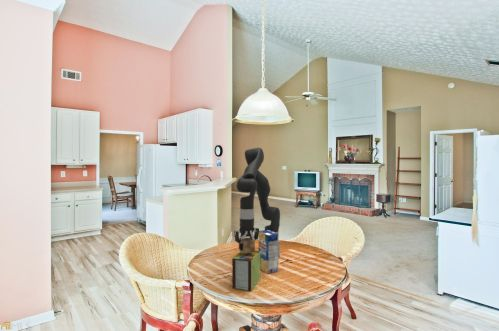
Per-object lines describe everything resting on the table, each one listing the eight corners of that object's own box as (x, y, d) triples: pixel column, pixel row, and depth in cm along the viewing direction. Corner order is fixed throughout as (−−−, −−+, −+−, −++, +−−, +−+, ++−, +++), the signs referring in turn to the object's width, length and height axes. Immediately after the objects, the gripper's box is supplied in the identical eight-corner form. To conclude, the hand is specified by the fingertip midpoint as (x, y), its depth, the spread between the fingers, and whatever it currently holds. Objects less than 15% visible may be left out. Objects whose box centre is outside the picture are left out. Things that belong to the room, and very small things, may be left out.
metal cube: (249, 248, 151) (249, 237, 150) (254, 251, 145) (254, 240, 145) (239, 250, 148) (239, 238, 147) (244, 253, 142) (244, 241, 142)
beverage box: (268, 274, 159) (268, 235, 158) (258, 267, 169) (258, 230, 168) (278, 271, 162) (278, 233, 162) (267, 265, 172) (268, 229, 171)
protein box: (260, 279, 152) (260, 250, 152) (251, 291, 138) (251, 260, 138) (242, 276, 156) (242, 248, 156) (231, 288, 141) (231, 257, 141)
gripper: (255, 214, 153) (254, 245, 153) (231, 217, 146) (231, 249, 146) (262, 217, 146) (262, 249, 147) (237, 220, 139) (237, 253, 140)
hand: (246, 249), depth 147 cm, fingers closed on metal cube, 6 cm apart
